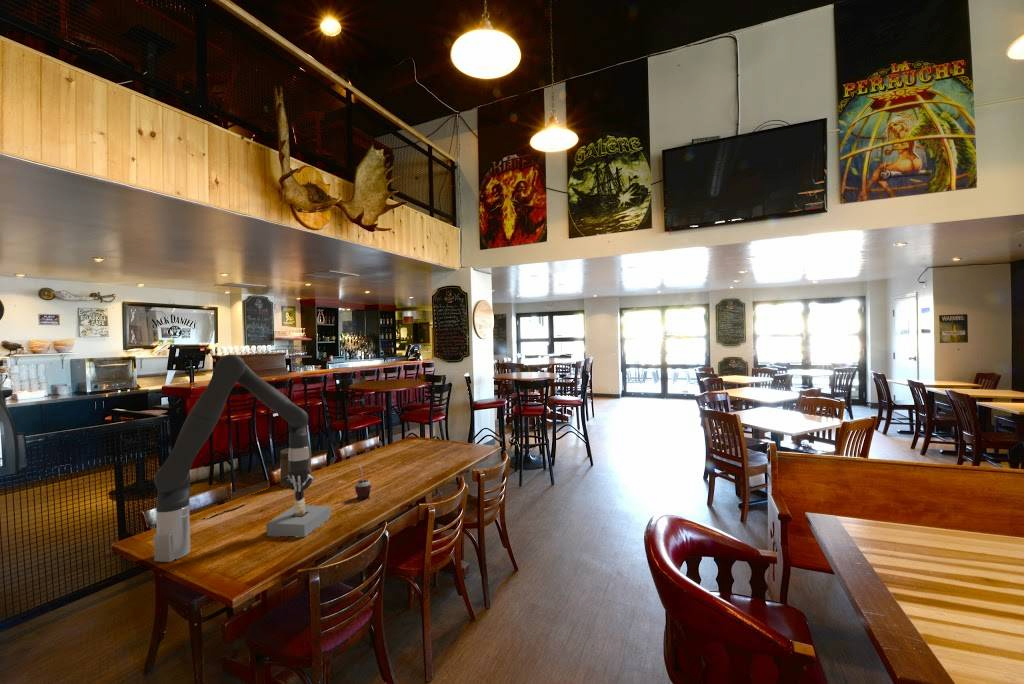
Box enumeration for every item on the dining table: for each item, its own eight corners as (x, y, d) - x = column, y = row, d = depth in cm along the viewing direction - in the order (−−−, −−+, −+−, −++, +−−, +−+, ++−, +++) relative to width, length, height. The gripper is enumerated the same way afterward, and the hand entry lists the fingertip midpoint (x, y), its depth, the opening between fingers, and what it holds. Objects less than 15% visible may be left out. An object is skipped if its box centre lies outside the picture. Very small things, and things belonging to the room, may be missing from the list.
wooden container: (296, 477, 234) (295, 438, 234) (317, 480, 230) (317, 440, 229) (273, 486, 220) (273, 444, 220) (296, 489, 215) (295, 446, 215)
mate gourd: (366, 501, 198) (365, 469, 198) (350, 500, 199) (350, 469, 199) (374, 495, 205) (373, 465, 205) (359, 494, 207) (358, 464, 207)
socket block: (304, 537, 162) (304, 524, 162) (266, 535, 164) (266, 523, 164) (330, 517, 180) (330, 506, 180) (295, 516, 182) (295, 505, 182)
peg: (301, 529, 170) (300, 501, 170) (291, 528, 170) (291, 501, 170) (307, 524, 174) (307, 498, 174) (298, 524, 174) (297, 497, 174)
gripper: (277, 460, 169) (278, 502, 169) (308, 460, 167) (309, 503, 167) (289, 454, 176) (290, 495, 176) (319, 455, 175) (320, 496, 175)
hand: (299, 499), depth 172 cm, fingers closed
